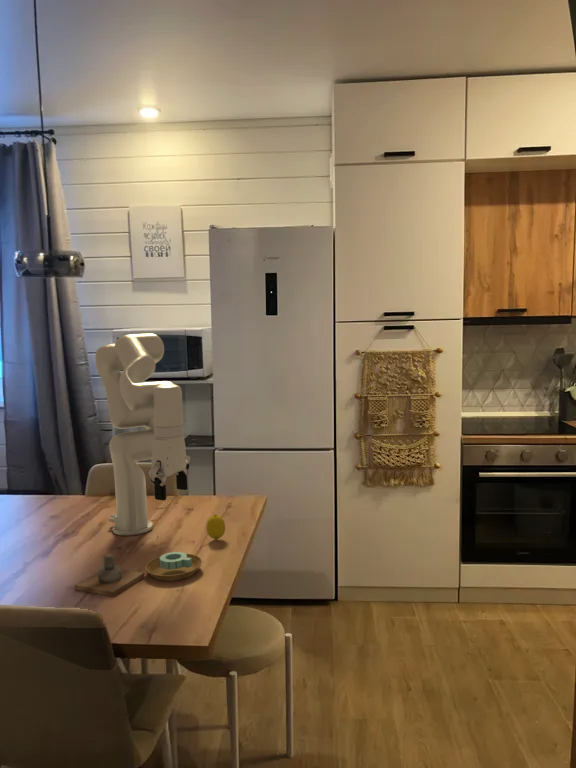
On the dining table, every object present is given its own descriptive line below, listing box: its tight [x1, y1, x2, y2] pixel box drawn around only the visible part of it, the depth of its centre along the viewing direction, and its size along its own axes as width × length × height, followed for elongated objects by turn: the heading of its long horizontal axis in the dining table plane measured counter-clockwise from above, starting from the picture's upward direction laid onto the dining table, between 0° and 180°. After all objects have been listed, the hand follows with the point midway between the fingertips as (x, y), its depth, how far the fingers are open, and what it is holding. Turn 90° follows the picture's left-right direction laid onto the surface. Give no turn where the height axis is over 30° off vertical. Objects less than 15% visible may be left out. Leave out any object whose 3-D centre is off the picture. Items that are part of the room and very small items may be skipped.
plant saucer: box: [144, 553, 203, 582], centre depth 160 cm, size 15×15×3 cm
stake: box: [74, 554, 145, 598], centre depth 154 cm, size 12×12×7 cm
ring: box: [159, 551, 192, 570], centre depth 160 cm, size 9×7×2 cm
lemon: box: [206, 514, 226, 541], centre depth 183 cm, size 6×6×8 cm
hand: (171, 494), depth 163 cm, fingers open, 9 cm apart
